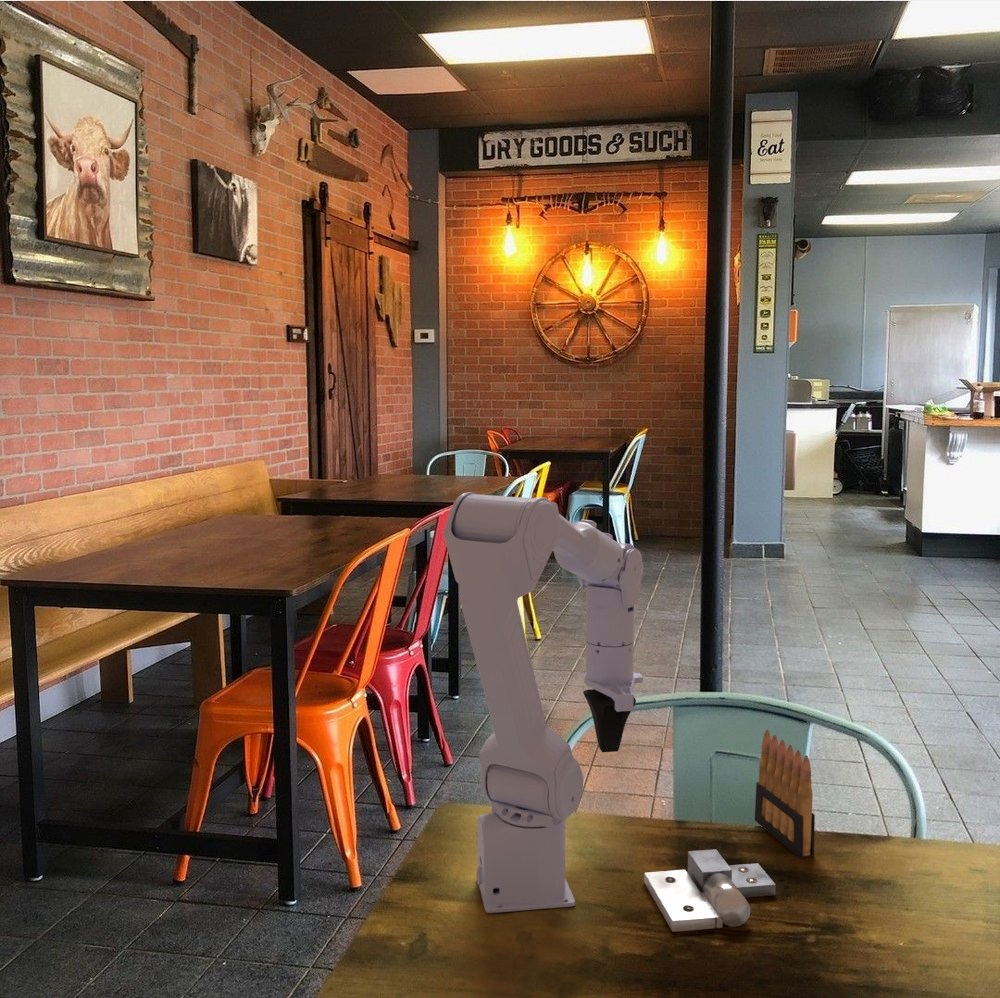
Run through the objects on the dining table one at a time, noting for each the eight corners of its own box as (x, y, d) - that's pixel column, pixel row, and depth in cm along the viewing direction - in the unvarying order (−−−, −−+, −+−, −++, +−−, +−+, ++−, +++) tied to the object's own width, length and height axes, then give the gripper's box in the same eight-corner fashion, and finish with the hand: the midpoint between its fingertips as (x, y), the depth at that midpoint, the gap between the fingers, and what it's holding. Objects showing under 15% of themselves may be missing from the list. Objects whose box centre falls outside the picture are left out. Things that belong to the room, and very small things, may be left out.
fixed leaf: (672, 932, 102) (673, 901, 102) (644, 883, 112) (644, 855, 111) (750, 925, 103) (750, 895, 103) (715, 877, 113) (715, 850, 113)
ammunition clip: (814, 857, 118) (818, 757, 116) (800, 859, 117) (803, 759, 116) (767, 818, 128) (770, 726, 126) (754, 820, 127) (756, 727, 126)
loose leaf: (702, 901, 108) (702, 872, 107) (687, 879, 112) (688, 851, 112) (775, 895, 109) (776, 866, 109) (757, 873, 114) (758, 846, 113)
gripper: (659, 655, 116) (658, 770, 118) (626, 624, 130) (625, 727, 132) (599, 658, 115) (598, 774, 117) (571, 627, 129) (571, 730, 131)
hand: (608, 749), depth 124 cm, fingers closed
